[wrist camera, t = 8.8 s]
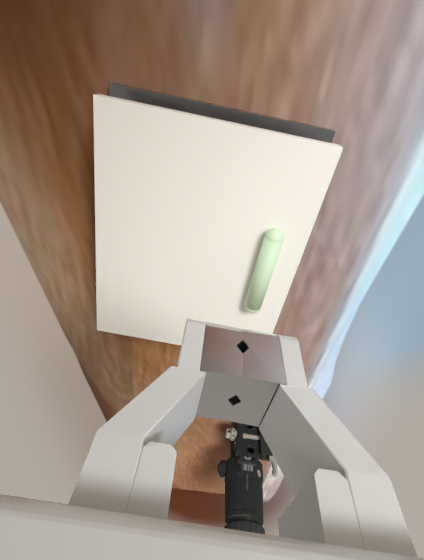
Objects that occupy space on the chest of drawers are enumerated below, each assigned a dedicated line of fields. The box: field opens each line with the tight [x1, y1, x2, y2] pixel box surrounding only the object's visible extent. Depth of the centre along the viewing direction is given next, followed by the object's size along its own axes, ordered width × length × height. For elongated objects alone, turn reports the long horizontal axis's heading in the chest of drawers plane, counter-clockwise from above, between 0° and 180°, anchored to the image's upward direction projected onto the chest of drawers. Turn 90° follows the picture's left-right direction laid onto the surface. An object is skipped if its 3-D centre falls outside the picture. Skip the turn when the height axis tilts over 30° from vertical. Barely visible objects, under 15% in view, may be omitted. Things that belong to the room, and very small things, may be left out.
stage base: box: [109, 83, 335, 143], centre depth 31 cm, size 23×19×4 cm
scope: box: [218, 422, 278, 534], centre depth 47 cm, size 8×14×10 cm
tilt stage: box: [93, 94, 343, 345], centre depth 28 cm, size 22×18×3 cm
